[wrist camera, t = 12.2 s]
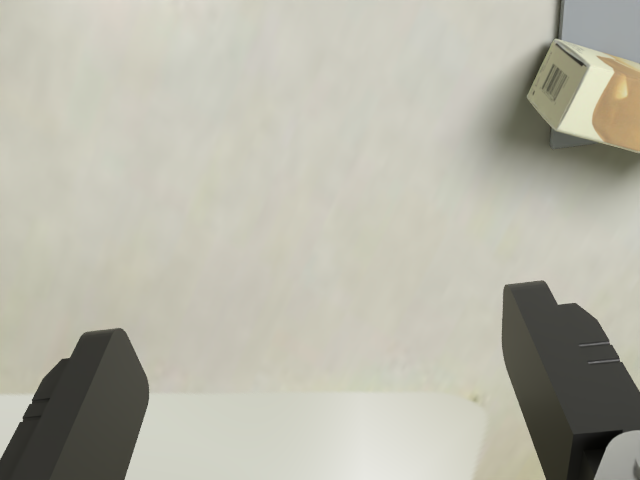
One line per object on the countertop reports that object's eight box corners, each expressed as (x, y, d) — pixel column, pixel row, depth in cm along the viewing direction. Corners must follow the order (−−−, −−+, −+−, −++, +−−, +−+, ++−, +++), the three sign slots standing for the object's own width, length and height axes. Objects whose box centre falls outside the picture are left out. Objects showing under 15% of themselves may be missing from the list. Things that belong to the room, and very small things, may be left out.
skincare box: (551, 35, 37) (712, 80, 39) (522, 97, 40) (674, 138, 42) (593, 65, 32) (776, 116, 34) (556, 135, 34) (729, 179, 36)
